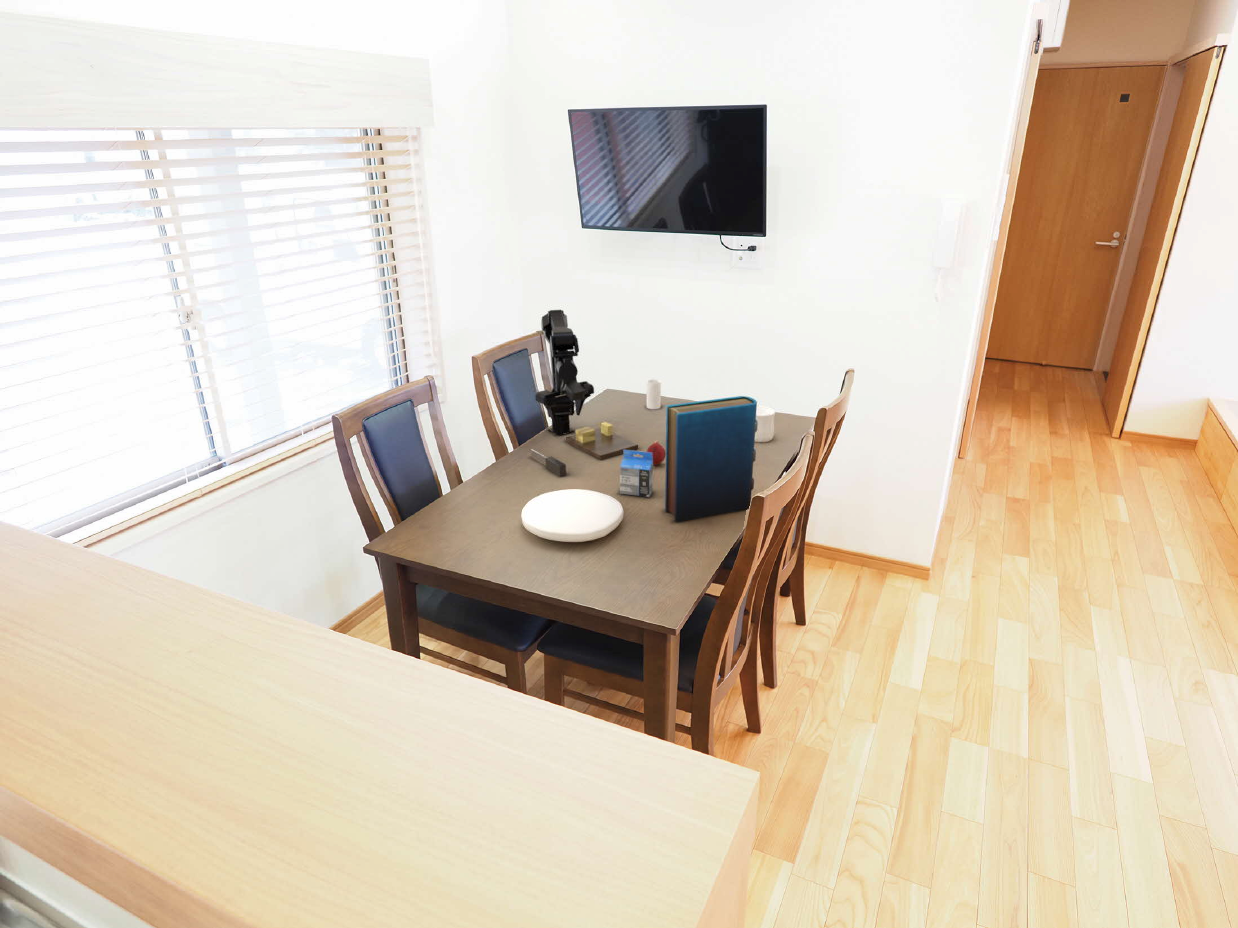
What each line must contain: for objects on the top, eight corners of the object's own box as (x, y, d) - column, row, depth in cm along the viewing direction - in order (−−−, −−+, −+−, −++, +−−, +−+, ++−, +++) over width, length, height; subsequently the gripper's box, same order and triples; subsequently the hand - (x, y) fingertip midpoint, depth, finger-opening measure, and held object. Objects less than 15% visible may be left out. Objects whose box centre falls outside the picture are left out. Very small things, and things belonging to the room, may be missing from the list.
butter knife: (566, 475, 236) (565, 464, 235) (560, 476, 235) (559, 466, 234) (535, 456, 249) (534, 446, 248) (529, 458, 248) (528, 448, 247)
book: (741, 495, 222) (746, 393, 210) (757, 507, 215) (763, 402, 203) (663, 508, 215) (663, 404, 203) (675, 522, 207) (677, 414, 195)
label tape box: (619, 494, 223) (618, 454, 219) (623, 488, 227) (623, 449, 222) (649, 497, 221) (649, 457, 216) (653, 491, 225) (653, 452, 220)
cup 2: (751, 430, 269) (752, 403, 265) (778, 436, 264) (780, 408, 260) (738, 438, 262) (740, 411, 258) (766, 445, 257) (768, 416, 253)
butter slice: (600, 432, 264) (600, 423, 263) (605, 431, 265) (605, 421, 264) (607, 436, 261) (607, 426, 260) (612, 434, 262) (612, 425, 261)
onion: (659, 470, 238) (659, 446, 235) (643, 466, 241) (643, 442, 238) (668, 464, 243) (669, 440, 240) (652, 460, 246) (652, 436, 243)
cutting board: (565, 441, 261) (564, 427, 259) (602, 431, 269) (601, 417, 267) (600, 460, 246) (600, 445, 245) (638, 448, 255) (638, 434, 253)
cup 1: (647, 404, 295) (647, 379, 291) (660, 404, 295) (661, 379, 291) (646, 409, 290) (646, 383, 286) (660, 409, 290) (660, 383, 286)
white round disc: (528, 485, 218) (624, 485, 218) (529, 507, 220) (624, 507, 220) (513, 521, 191) (622, 522, 191) (514, 546, 193) (622, 547, 193)
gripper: (552, 383, 233) (554, 432, 239) (603, 372, 243) (604, 419, 249) (533, 374, 241) (535, 422, 248) (583, 363, 251) (584, 409, 258)
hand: (566, 418), depth 250 cm, fingers open, 9 cm apart
